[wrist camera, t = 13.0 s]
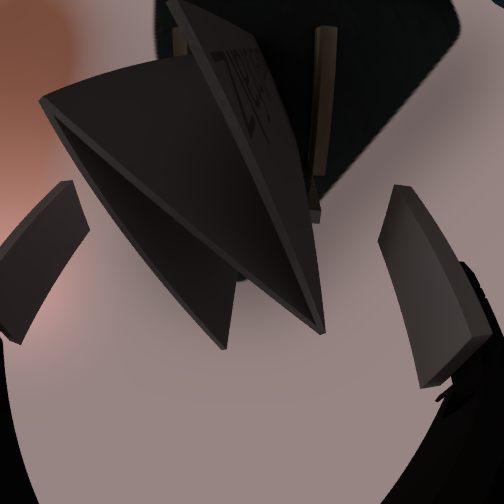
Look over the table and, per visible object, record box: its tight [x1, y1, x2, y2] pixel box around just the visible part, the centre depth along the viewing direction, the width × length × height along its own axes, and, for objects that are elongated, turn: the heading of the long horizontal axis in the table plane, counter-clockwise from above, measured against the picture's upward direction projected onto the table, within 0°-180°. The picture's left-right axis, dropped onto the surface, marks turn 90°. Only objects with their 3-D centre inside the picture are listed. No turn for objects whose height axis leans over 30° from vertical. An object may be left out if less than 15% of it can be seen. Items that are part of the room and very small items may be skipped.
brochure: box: [39, 0, 326, 350], centre depth 21 cm, size 14×6×30 cm, turn 22°
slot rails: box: [172, 25, 337, 176], centre depth 30 cm, size 17×18×6 cm
